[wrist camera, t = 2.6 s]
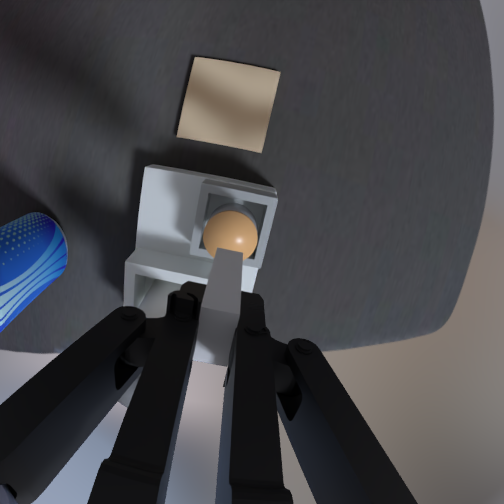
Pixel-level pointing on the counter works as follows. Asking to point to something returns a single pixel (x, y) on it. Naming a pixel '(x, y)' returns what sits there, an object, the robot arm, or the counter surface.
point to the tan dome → (231, 230)
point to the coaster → (228, 104)
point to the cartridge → (152, 316)
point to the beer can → (28, 261)
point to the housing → (189, 227)
